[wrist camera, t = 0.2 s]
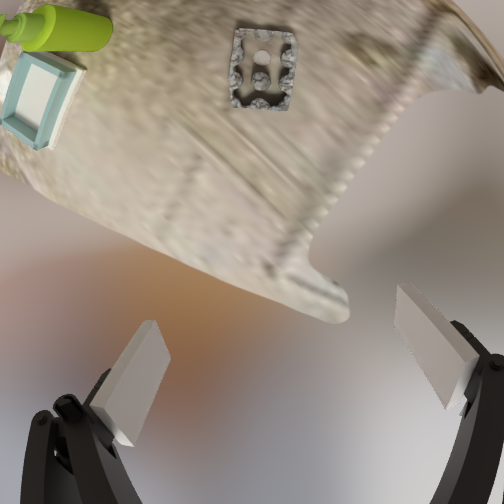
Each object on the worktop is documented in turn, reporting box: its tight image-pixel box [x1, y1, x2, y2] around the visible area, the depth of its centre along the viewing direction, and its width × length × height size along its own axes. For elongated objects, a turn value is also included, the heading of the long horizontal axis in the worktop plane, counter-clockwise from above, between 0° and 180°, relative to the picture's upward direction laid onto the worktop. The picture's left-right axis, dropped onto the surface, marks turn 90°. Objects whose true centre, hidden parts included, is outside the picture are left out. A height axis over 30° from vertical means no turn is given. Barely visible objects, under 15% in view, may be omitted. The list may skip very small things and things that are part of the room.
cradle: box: [0, 51, 87, 151], centre depth 26 cm, size 14×14×4 cm
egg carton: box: [229, 28, 298, 111], centre depth 27 cm, size 11×8×4 cm
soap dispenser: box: [0, 4, 113, 52], centre depth 16 cm, size 6×7×20 cm
